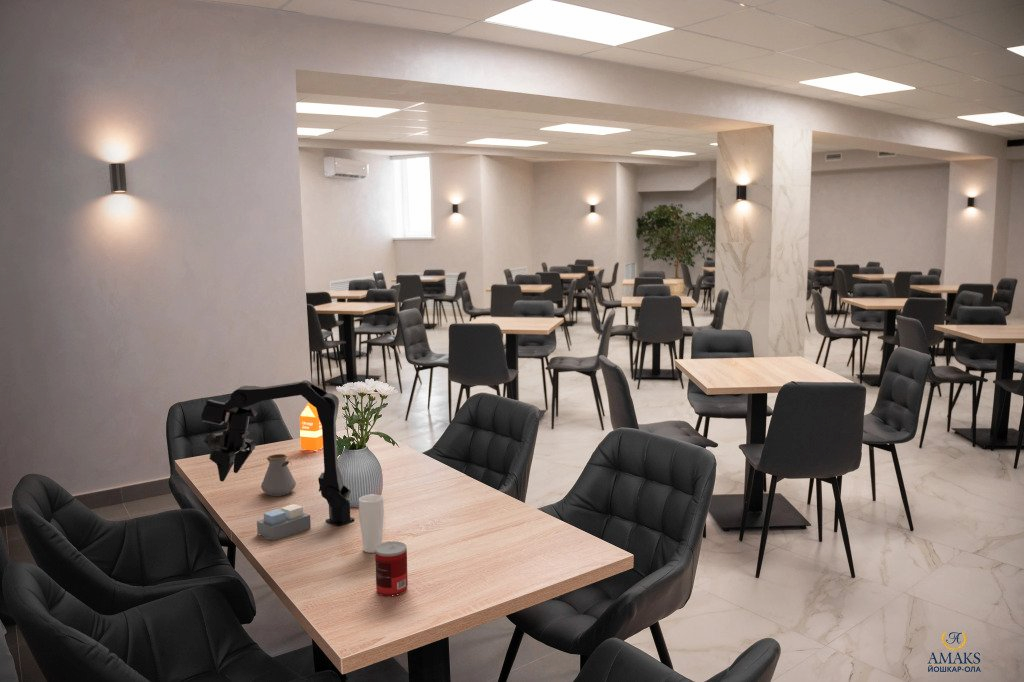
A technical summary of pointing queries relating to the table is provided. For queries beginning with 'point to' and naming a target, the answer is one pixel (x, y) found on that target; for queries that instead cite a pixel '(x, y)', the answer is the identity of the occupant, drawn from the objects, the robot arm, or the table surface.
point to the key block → (283, 527)
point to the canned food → (391, 568)
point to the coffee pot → (278, 476)
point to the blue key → (274, 517)
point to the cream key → (293, 511)
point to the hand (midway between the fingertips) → (228, 476)
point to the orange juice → (310, 429)
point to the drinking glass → (371, 521)
